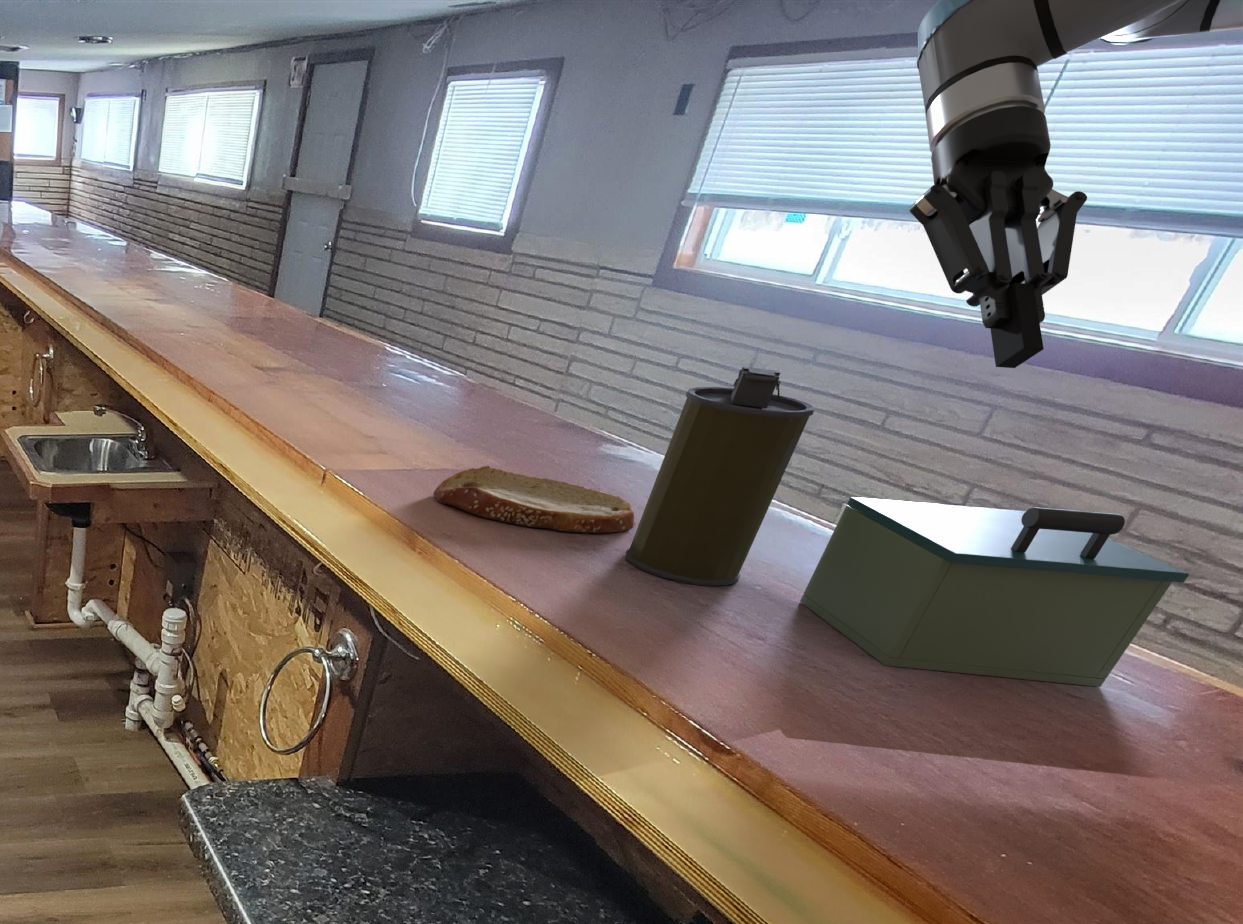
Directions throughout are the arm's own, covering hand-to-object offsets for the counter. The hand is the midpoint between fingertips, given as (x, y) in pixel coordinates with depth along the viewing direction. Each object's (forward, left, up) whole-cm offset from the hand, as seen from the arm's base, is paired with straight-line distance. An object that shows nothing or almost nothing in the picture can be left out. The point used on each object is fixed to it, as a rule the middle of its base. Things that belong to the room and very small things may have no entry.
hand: (1019, 357), depth 83 cm
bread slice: (+31, -14, -24) cm, 42 cm away
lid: (-2, +8, -14) cm, 16 cm away
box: (-2, +8, -23) cm, 25 cm away
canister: (+17, -2, -24) cm, 29 cm away
